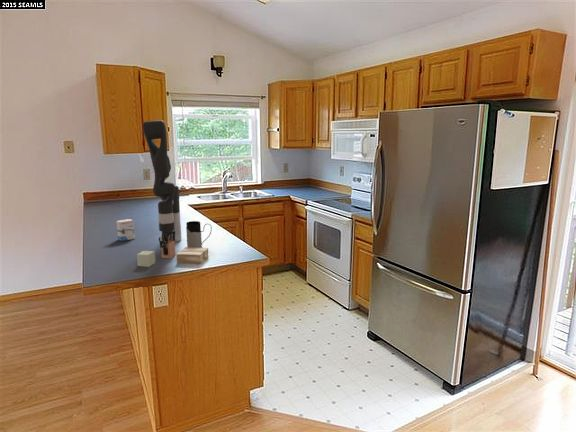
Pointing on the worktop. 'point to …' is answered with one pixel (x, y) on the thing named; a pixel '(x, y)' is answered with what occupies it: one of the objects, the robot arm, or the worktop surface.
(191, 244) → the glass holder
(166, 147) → the robot arm
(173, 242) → the terracotta block
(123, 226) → the ink box
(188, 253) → the birch block
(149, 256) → the sage cube
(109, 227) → the worktop surface
